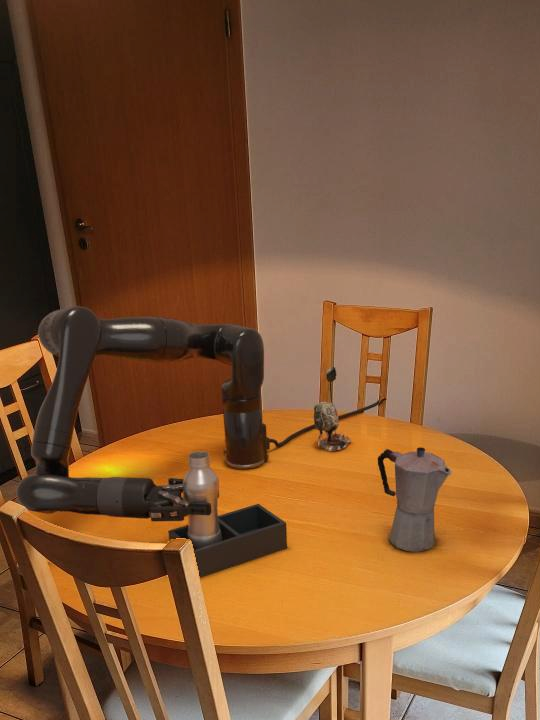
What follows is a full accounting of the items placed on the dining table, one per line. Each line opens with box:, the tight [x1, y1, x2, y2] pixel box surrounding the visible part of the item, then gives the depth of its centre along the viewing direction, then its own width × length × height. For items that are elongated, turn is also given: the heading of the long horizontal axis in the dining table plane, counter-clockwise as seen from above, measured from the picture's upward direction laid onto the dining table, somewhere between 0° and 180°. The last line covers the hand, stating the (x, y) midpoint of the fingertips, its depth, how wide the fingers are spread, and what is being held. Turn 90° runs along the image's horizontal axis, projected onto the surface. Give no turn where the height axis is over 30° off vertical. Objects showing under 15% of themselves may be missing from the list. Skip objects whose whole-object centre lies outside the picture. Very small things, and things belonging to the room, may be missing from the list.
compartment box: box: [167, 503, 288, 578], centre depth 152 cm, size 10×20×6 cm, turn 123°
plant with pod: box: [313, 365, 352, 452], centre depth 196 cm, size 8×11×20 cm
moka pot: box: [377, 446, 453, 553], centre depth 150 cm, size 10×15×20 cm, turn 58°
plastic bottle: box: [183, 450, 222, 550], centre depth 146 cm, size 6×7×20 cm
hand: (214, 500), depth 145 cm, fingers closed on plastic bottle, 6 cm apart
